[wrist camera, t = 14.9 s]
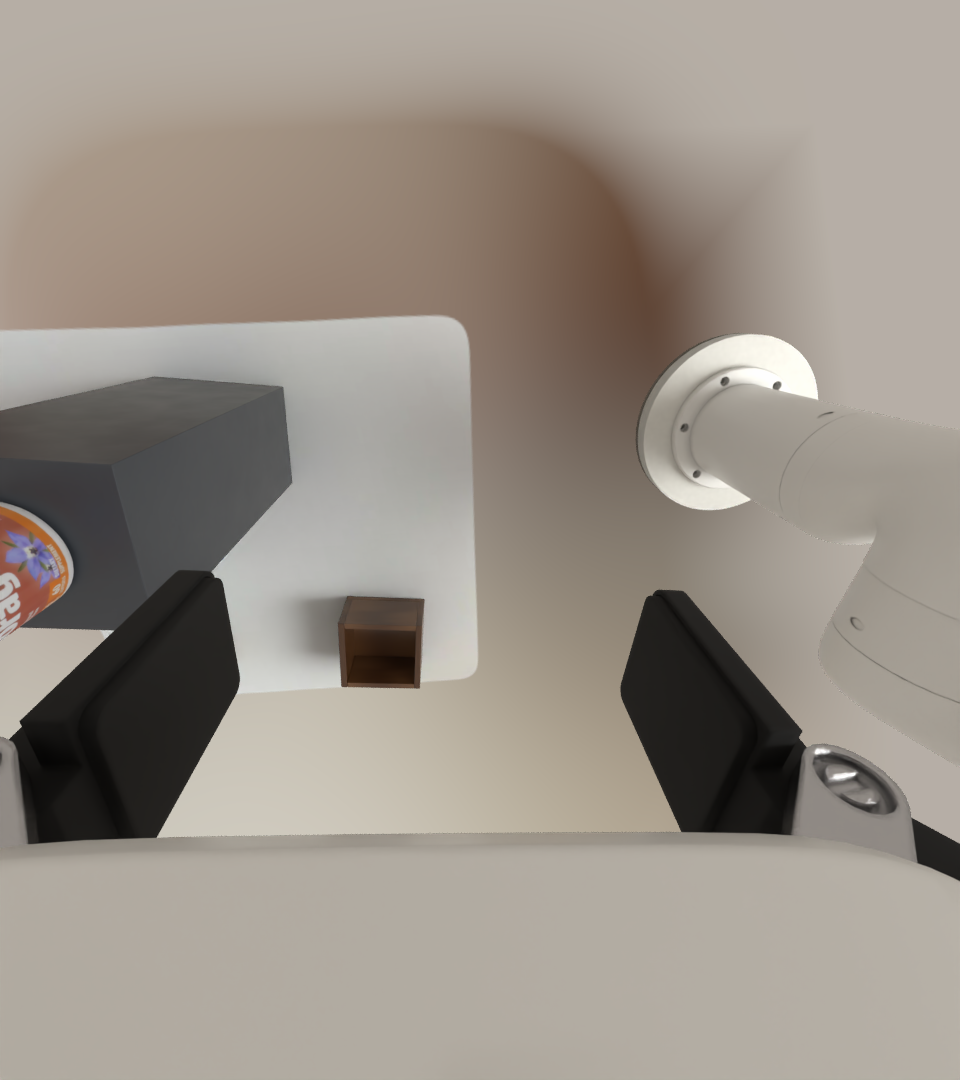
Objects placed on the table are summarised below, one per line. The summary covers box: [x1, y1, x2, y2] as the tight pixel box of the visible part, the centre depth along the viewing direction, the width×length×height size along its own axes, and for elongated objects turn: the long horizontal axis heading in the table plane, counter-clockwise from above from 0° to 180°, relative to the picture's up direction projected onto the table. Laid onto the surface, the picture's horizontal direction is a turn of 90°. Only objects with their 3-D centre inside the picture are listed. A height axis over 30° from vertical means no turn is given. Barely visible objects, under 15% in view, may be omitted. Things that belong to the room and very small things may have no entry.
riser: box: [0, 377, 292, 630], centre depth 36 cm, size 12×10×26 cm
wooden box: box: [338, 596, 424, 688], centre depth 57 cm, size 9×9×6 cm
